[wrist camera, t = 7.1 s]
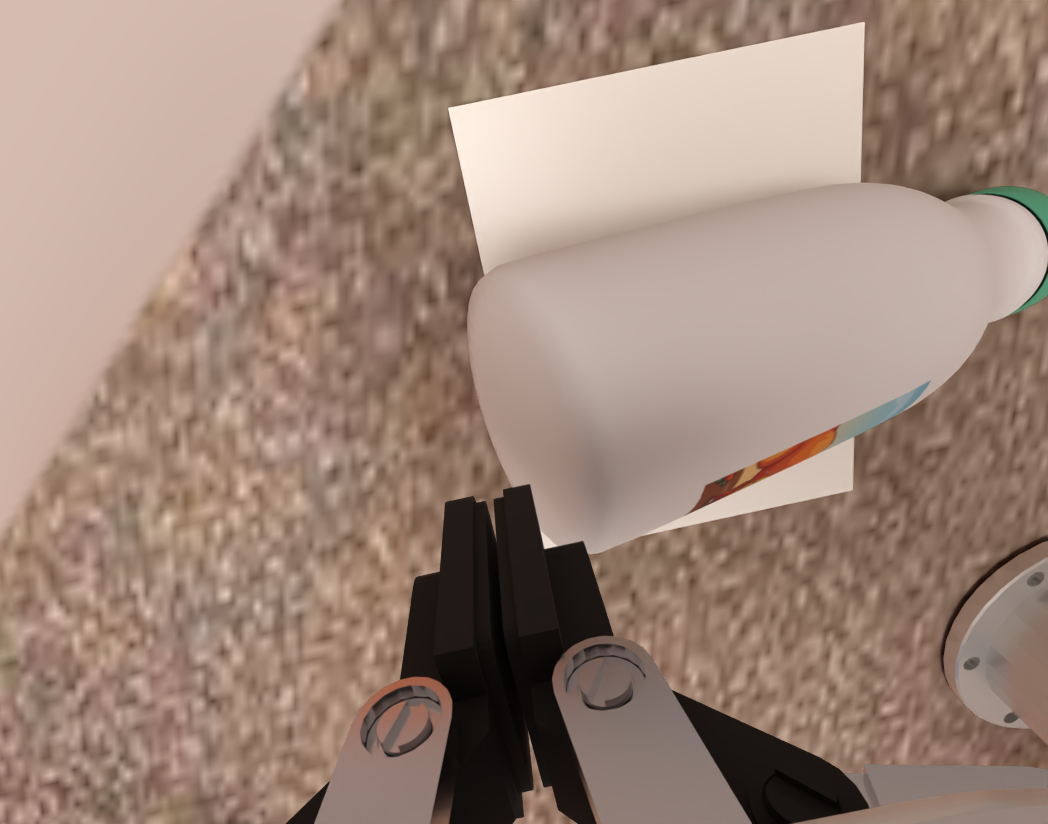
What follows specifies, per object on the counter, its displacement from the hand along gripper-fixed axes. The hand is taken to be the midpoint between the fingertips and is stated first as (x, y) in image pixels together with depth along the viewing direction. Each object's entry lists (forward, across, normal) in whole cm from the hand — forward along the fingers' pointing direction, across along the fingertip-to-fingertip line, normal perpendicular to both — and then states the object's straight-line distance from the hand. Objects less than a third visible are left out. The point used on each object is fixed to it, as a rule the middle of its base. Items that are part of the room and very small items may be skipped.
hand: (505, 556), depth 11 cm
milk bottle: (+4, -1, -1) cm, 4 cm away
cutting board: (+13, -8, 0) cm, 15 cm away
